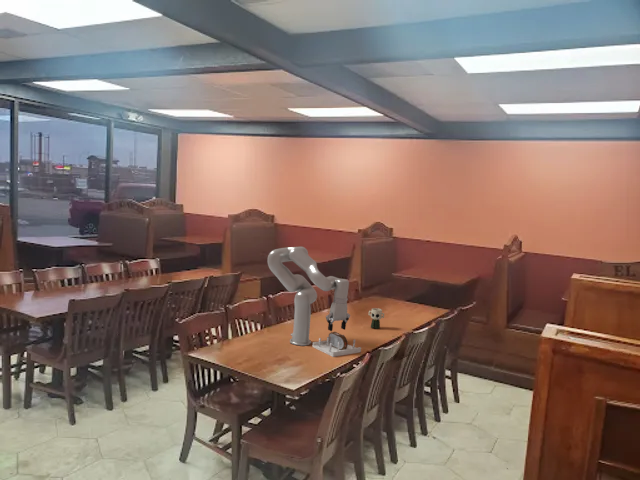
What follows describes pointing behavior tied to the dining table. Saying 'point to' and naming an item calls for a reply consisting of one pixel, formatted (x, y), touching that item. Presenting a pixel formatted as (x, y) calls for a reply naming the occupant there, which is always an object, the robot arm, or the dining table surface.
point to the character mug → (376, 317)
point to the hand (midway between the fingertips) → (336, 329)
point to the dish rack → (333, 351)
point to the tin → (338, 340)
